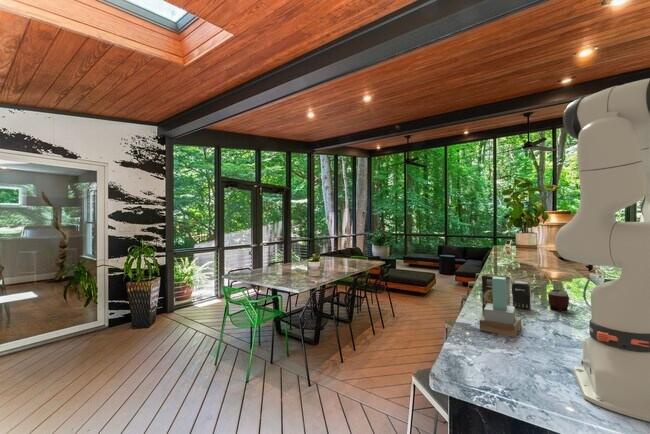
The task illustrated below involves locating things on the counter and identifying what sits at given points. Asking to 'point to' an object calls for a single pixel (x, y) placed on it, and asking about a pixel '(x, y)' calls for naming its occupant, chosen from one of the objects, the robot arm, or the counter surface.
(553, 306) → the mate gourd
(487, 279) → the coffee box
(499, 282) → the teal block
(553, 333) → the counter surface
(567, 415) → the counter surface
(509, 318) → the tower top
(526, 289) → the battery charger
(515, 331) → the tower base
